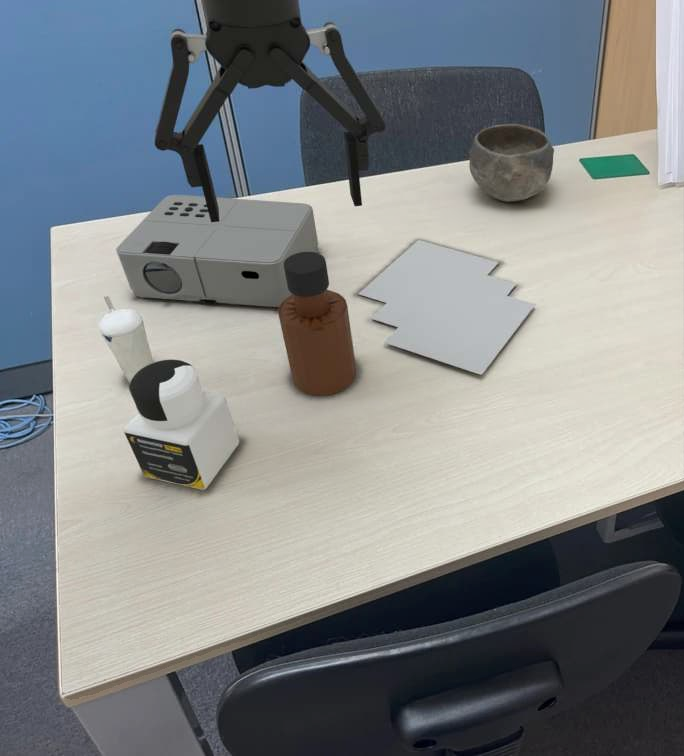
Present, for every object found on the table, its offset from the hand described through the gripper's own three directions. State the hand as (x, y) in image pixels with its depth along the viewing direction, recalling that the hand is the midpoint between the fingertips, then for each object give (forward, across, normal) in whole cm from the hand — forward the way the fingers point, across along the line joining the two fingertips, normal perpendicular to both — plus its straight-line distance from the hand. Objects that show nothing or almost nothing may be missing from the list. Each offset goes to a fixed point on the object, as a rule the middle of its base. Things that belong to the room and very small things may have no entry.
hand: (287, 207), depth 70 cm
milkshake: (+23, +20, -7) cm, 31 cm away
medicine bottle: (+23, +14, +9) cm, 29 cm away
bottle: (+23, -1, -1) cm, 23 cm away
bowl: (+22, -38, -41) cm, 60 cm away
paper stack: (+23, -19, -12) cm, 32 cm away
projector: (+23, +9, -27) cm, 37 cm away
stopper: (+14, -1, -1) cm, 14 cm away
